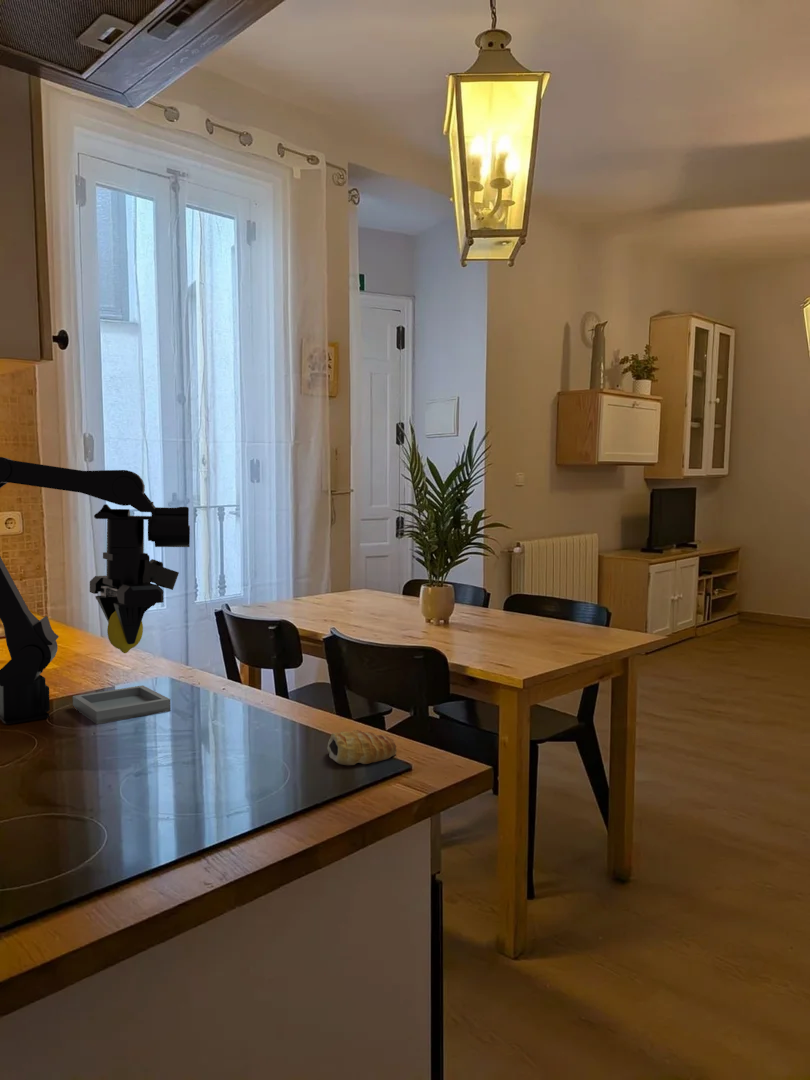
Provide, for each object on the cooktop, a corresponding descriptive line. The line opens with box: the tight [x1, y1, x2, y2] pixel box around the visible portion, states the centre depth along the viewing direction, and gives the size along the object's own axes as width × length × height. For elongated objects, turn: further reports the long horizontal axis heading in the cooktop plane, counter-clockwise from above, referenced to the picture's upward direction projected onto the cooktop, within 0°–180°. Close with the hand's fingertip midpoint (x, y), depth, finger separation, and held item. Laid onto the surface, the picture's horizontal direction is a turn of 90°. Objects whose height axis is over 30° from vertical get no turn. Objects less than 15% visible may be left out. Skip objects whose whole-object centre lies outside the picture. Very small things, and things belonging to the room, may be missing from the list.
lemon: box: [107, 611, 144, 654], centre depth 128 cm, size 6×6×8 cm
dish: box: [72, 685, 172, 725], centre depth 130 cm, size 12×12×2 cm
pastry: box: [327, 729, 398, 766], centre depth 107 cm, size 9×7×4 cm
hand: (124, 641), depth 128 cm, fingers closed on lemon, 5 cm apart
